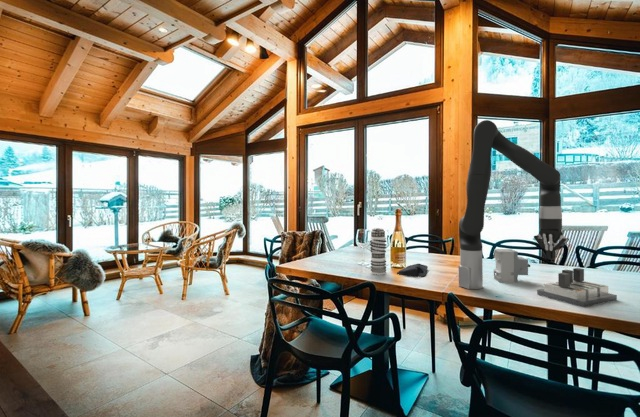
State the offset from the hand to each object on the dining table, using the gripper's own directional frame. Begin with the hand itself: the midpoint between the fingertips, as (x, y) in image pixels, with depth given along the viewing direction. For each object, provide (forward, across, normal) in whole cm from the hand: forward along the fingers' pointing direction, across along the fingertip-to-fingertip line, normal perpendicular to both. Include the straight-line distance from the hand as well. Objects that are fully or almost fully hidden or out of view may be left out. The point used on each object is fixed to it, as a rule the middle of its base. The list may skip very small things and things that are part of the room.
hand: (551, 259), depth 128 cm
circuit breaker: (+15, -24, +8) cm, 29 cm away
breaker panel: (+15, +5, +7) cm, 17 cm away
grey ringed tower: (+14, -66, -42) cm, 79 cm away
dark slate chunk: (+15, -59, -23) cm, 65 cm away
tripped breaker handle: (+10, +5, 0) cm, 11 cm away
